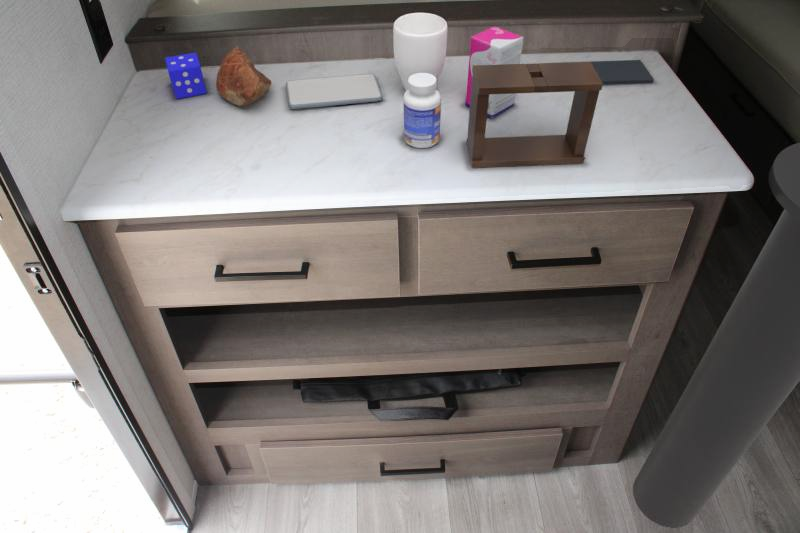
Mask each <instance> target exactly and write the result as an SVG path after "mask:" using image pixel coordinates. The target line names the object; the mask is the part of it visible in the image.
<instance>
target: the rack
mask: <svg viewBox="0 0 800 533" xmlns="http://www.w3.org/2000/svg"><path fill="white" fill-rule="evenodd" d="M591 62H592V61H566V62H563V61H562V62H538V63H537V62H536V63H535V62H534V63H520V64H502V65H473V67H472V73H473V76H472V88H471V100H470V108H469V111H468V112H469V113H468V124H467V125H468V126H467V138H466V143H465V144H466V149H467V153H468V158H469V162H470V165H471V166H470V167H471V169H481V168H482V169H483V168H503V167H504V168H509V167H532V166H533V167H534V166H557V165H582V164H584V163H585V159H586V157H585V153H586V148H587V144H588V140H589V135H590V132H591V128H592V124H593V119H594V115H595V111H596V108H597V102H598V100H599V94H600V92H601V91H602V89H603V85H604V84H603V83H602V81H601V79H600V78H599V76H598V74H597V72H596V71H595V69H594V67H593V65H592V64H591ZM565 92H566V93H567V92H570V93H571V92H574V93H573V98H572V103H571V108H570V112H569V117H568V123H567V126H566V131H565V134H549V135H522V136H521V135H519V136H498V137H494V136H493V137H486V131H487V130H486V128H487V122H488V121H487V119H488V116H487V111H488V102H489V94H516V95H517V94H538V93H539V94H540V93H541V94H543V93H565Z"/></svg>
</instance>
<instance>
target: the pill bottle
mask: <svg viewBox="0 0 800 533" xmlns="http://www.w3.org/2000/svg"><path fill="white" fill-rule="evenodd" d="M437 83H438V80H436V77H435V76H434V75H432V74H429V73H416V74H413V75H411V76H410V77H409V78H408V90H407V91H406V90H405V92H404V94H403V102H402V103H403V104H402V105H403V139H404V142H405V143H406V144H407V145H409V146H410V147H413V148H416V149H428V148H432V147H434V146H435V145H437V144H438V143H439V141H440V138H441V118H442V117H441V115H442V114H441V113H442V95H441V93H440V91H438V90H437V86H438V84H437Z"/></svg>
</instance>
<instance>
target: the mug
mask: <svg viewBox="0 0 800 533" xmlns="http://www.w3.org/2000/svg"><path fill="white" fill-rule="evenodd" d="M447 23H448V22H447V21H446V20H445V19H444V18H443V17H442V16H440V15H438V14H433V13H431V12H430V13H429V12H411V13H406V14H403V15H401V16H399V17H398V18H397V19H395V21H394V22H393V26H392V27H393V29H392V30H393V31H392V35H393V37H392V38H393V39H392V40H393V58H394V63H395V66H396V70H397V72H398V73H399V77H400V79H401V82H402V84H403V87H404V89H405V92H406V91H407V90H408V78H409V77H410V76H411V75H413V74H416V73H429V74H432V75H434V76H435V77H436V80H437V81H438V80H439V77H440V75H441V74H442V71H443V67H444V65H445V62H446V57H447V47H448V24H447Z"/></svg>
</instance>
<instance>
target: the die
mask: <svg viewBox="0 0 800 533" xmlns="http://www.w3.org/2000/svg"><path fill="white" fill-rule="evenodd" d="M164 60H165V64H166V68H167V72H168V75H169V80H170V83H171V87H172V90H173V93H174V97H175V99H176V100H180V99H186V98H191V97H195V96H196V97H198V96H202V95H206V94H207V93H208V91H207V88H206V82H205V80H204V75H203V71H202V67H201V63H200V60H199V57H198V54H197V53H196V52H189V53H185V54H184V53H183V54H179V55H172V56H166V57H165V58H164Z"/></svg>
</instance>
